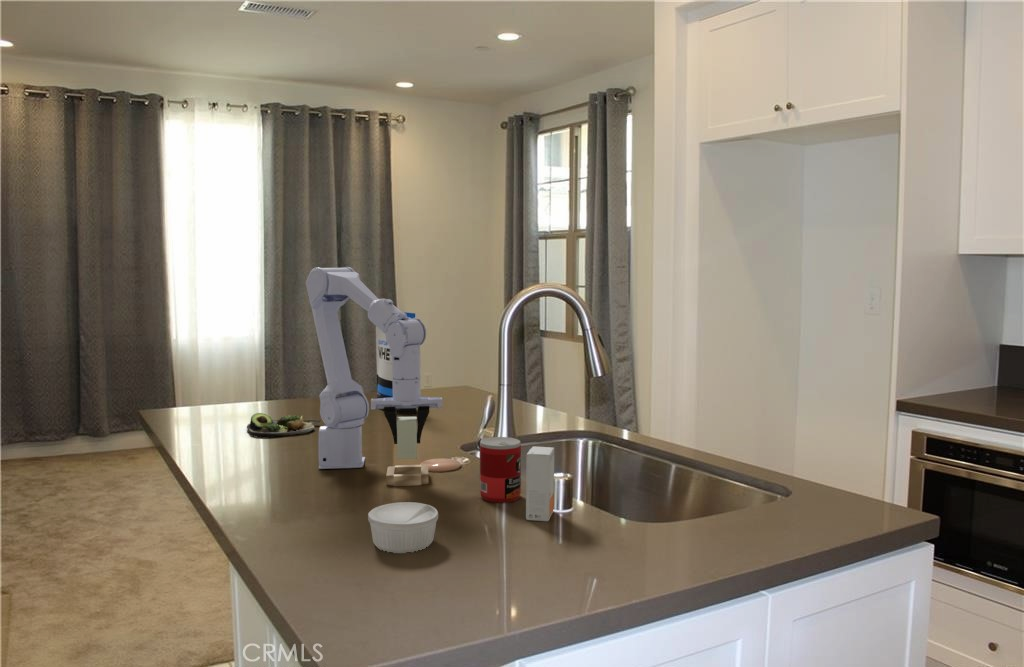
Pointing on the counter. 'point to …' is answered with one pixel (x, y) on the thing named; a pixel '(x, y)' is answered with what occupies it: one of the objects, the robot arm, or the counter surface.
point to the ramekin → (403, 526)
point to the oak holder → (407, 475)
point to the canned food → (500, 469)
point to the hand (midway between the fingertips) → (407, 442)
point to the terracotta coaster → (441, 465)
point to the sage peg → (406, 437)
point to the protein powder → (387, 369)
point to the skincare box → (540, 483)
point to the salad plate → (278, 425)
